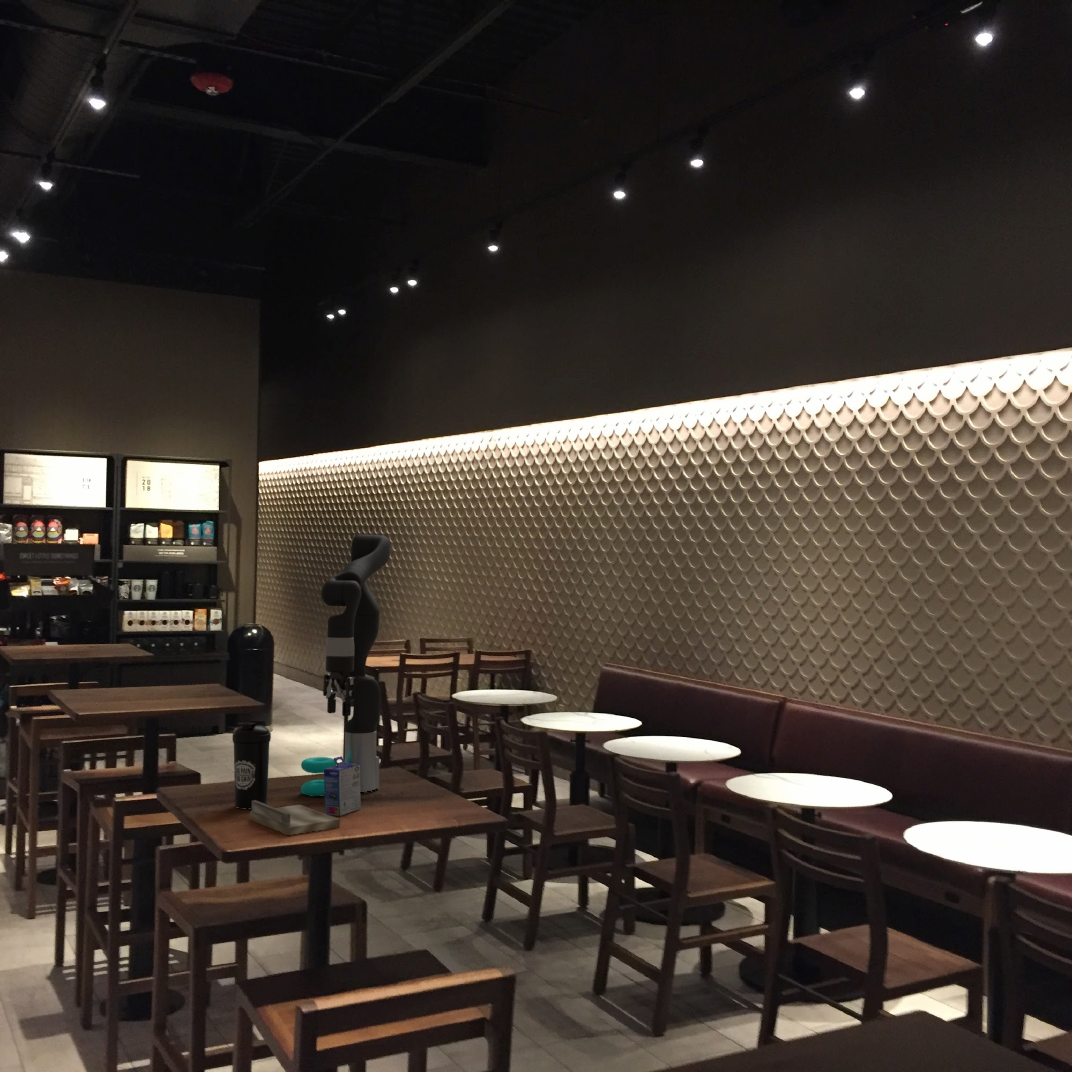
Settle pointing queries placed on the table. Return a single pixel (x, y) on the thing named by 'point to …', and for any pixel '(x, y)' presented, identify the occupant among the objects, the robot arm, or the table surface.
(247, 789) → the water bottle
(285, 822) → the shelf board
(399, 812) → the table surface
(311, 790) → the donuts
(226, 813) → the table surface
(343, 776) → the ink cartridge box
